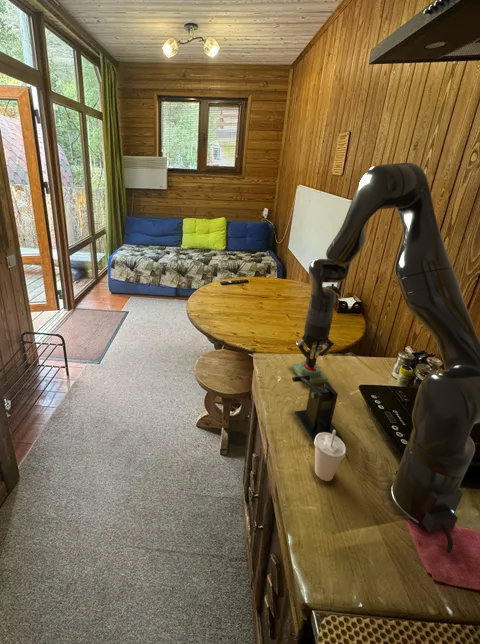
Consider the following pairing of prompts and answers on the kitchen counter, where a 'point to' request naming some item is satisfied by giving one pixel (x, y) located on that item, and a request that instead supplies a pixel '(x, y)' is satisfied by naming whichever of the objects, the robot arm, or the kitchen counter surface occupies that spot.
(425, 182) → the robot arm
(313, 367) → the button
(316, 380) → the control block
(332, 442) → the smoothie
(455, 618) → the kitchen counter surface
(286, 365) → the kitchen counter surface
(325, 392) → the lever
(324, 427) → the bracket
